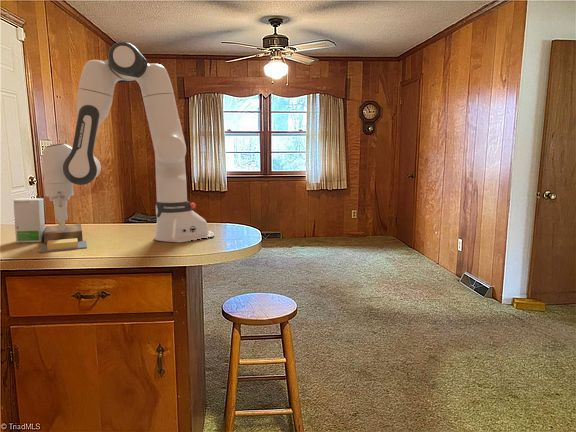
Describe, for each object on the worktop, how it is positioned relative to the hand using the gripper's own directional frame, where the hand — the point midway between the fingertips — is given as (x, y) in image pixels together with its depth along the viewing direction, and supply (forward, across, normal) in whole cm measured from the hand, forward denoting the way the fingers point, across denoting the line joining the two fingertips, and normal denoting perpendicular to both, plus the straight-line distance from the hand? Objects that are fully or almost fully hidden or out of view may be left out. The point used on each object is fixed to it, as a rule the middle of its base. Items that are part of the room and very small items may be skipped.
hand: (62, 229), depth 145 cm
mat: (+5, -5, 0) cm, 7 cm away
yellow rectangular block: (+3, -7, 0) cm, 7 cm away
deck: (+5, +9, 0) cm, 10 cm away
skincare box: (+5, +11, +10) cm, 16 cm away
